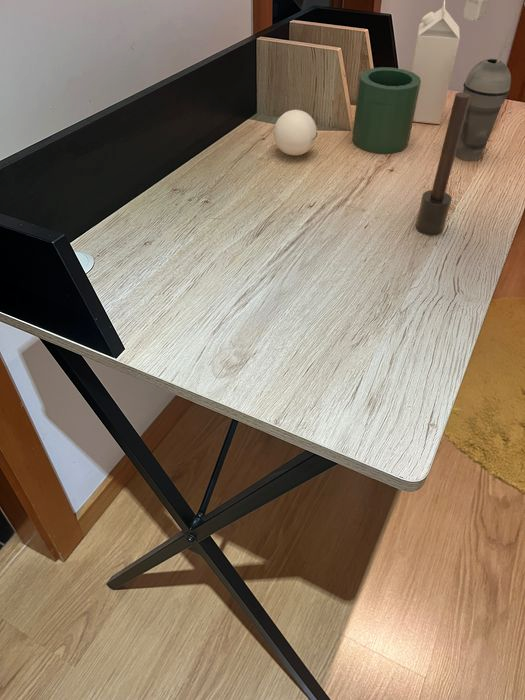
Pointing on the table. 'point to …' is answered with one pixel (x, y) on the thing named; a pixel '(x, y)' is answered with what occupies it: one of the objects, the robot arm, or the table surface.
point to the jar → (385, 109)
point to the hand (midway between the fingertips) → (504, 13)
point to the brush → (443, 173)
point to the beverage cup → (483, 104)
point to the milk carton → (434, 63)
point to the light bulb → (295, 132)
